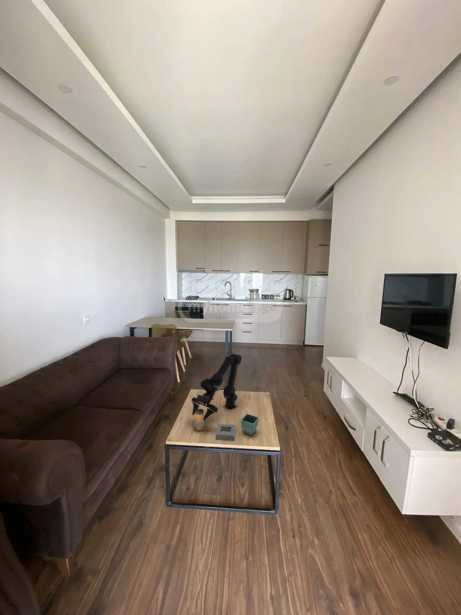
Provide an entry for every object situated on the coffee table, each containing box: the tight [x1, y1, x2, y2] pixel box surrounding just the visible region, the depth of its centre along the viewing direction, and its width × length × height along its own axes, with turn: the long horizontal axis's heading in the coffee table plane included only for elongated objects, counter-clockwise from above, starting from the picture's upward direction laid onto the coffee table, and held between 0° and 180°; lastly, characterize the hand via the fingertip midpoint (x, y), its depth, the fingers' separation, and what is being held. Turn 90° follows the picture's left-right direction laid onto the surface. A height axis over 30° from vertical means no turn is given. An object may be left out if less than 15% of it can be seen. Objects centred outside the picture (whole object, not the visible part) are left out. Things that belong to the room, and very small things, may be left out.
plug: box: [193, 408, 206, 432], centre depth 160 cm, size 7×7×12 cm
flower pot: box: [240, 413, 260, 436], centre depth 157 cm, size 9×9×9 cm
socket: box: [215, 423, 236, 441], centre depth 155 cm, size 11×11×3 cm
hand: (198, 417), depth 158 cm, fingers open, 9 cm apart
